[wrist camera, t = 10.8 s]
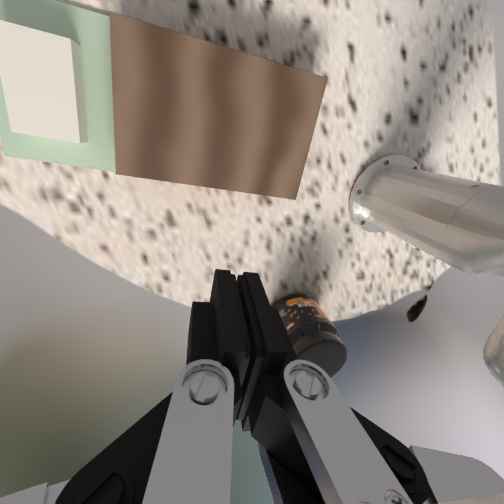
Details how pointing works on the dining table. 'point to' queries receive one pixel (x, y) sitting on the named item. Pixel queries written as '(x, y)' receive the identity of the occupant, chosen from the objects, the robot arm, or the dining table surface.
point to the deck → (208, 112)
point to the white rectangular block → (42, 83)
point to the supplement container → (312, 333)
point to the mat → (94, 77)
